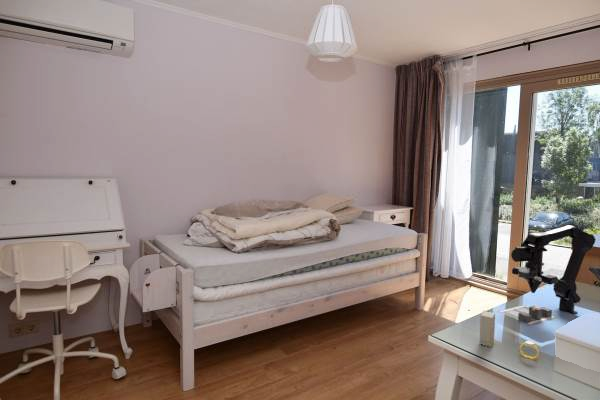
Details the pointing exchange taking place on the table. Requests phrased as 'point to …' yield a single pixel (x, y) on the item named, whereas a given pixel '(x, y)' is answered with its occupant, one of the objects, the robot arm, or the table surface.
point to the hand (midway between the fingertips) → (533, 292)
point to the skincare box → (487, 328)
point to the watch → (529, 345)
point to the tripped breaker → (535, 312)
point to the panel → (527, 314)
